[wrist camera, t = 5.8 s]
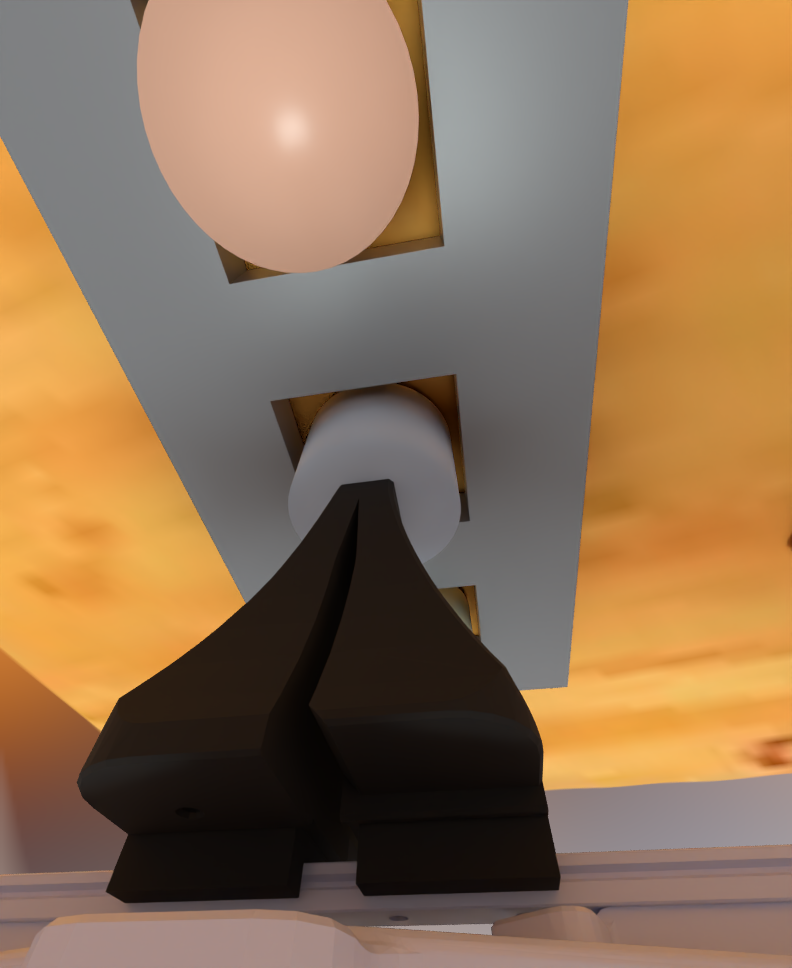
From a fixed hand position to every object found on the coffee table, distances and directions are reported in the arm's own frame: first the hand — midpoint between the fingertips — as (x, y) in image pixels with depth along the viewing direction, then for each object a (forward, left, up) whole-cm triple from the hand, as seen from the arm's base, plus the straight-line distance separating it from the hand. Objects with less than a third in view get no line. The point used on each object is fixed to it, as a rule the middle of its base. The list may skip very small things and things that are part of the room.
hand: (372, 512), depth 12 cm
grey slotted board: (0, 0, -4) cm, 4 cm away
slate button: (0, 0, -3) cm, 3 cm away
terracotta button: (0, -8, -3) cm, 9 cm away
